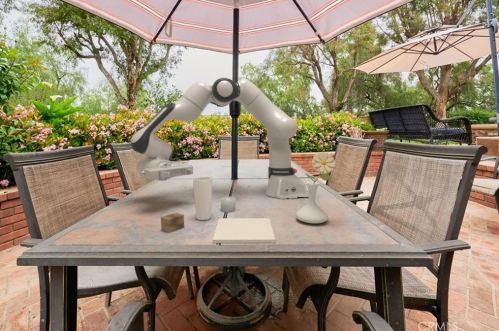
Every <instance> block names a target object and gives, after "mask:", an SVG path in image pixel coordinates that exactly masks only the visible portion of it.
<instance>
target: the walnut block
mask: <svg viewBox="0 0 499 331" xmlns="http://www.w3.org/2000/svg"><path fill="white" fill-rule="evenodd" d="M160 225H161V226H160V228H161V229H160V230H161V231H163V232H165V233H167V234H170V233H173V232H176V231H179V230H181V229H185V215H184V214H182V213H179V212H174V213H173V212H172V213H171V214H167V215H164V216H160Z"/></svg>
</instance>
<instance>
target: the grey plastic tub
mask: <svg viewBox="0 0 499 331" xmlns="http://www.w3.org/2000/svg"><path fill="white" fill-rule="evenodd" d="M236 211H237V210H236V197H234V196H222V197H220V212H222V213H234V212H236Z"/></svg>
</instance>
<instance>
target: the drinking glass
mask: <svg viewBox="0 0 499 331" xmlns="http://www.w3.org/2000/svg"><path fill="white" fill-rule="evenodd" d="M192 187H193V197H194V205H195V218H196V219H197V220H199V221H207V220H210V219H211V217H212V200H213V178H212V177H210V176H196V177H194V178H193V182H192Z"/></svg>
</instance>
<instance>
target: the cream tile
mask: <svg viewBox="0 0 499 331" xmlns="http://www.w3.org/2000/svg"><path fill="white" fill-rule="evenodd" d="M265 243H266V244H275V243H276V237H275V233H274V229H273V226H272V223H271V219H270V218H269V217H268V218H267V217H266V218H265V217H264V218H262V217H261V218H260V217H259V218H257V217H256V218H255V217H253V218H251V217H249V218H248V217H246V218H244V217H243V218H242V217H240V218H239V217H238V218H236V217H235V218H226V217H225V218H223V217H221V218H218V221H217V224H216V228H215V231H214V234H213V238H212V244H265Z"/></svg>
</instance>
